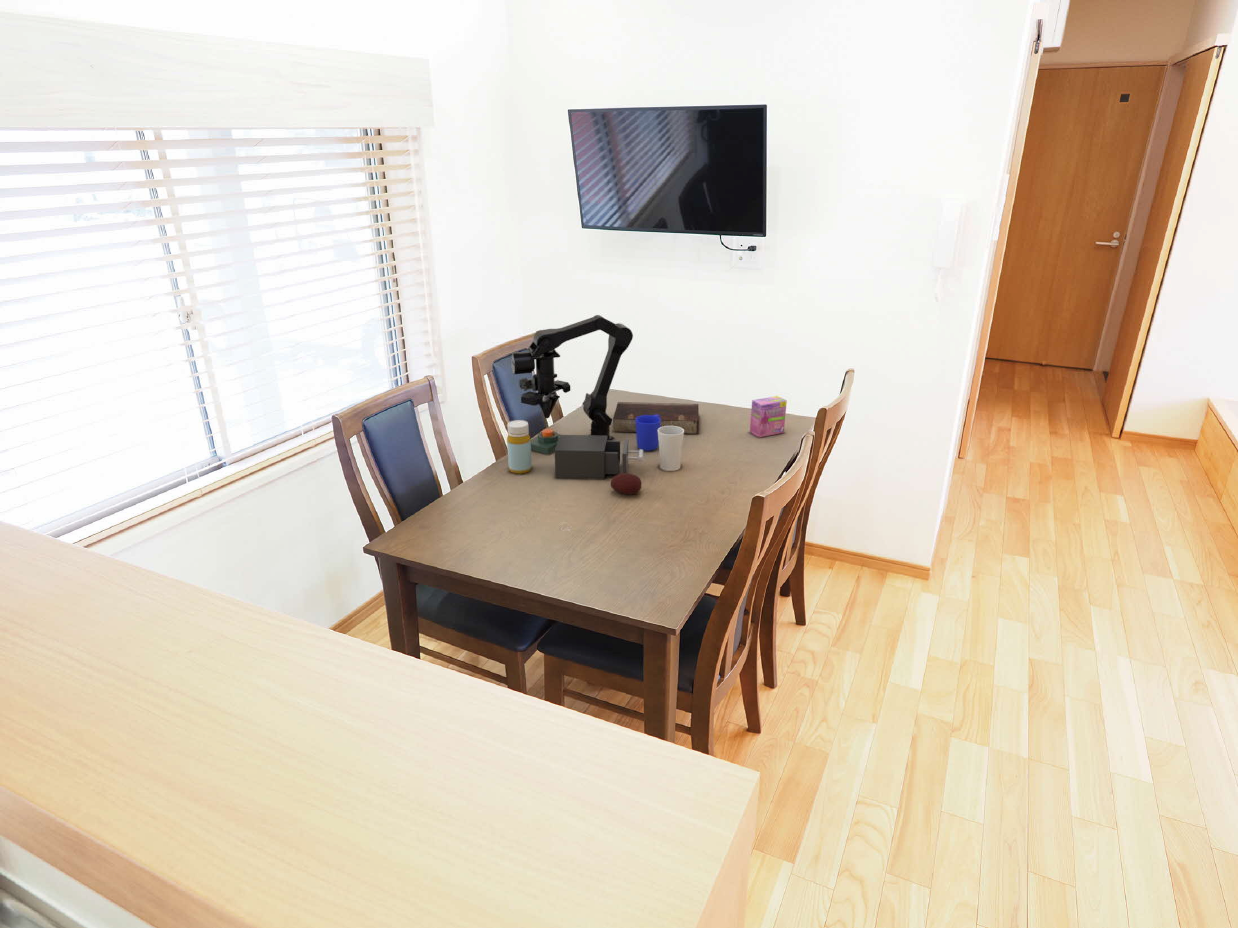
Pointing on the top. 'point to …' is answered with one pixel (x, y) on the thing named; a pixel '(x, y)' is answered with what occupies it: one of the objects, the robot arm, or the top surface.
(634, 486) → the potato
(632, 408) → the book
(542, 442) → the control block
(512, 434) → the bottle
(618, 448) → the drawer
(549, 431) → the button
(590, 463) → the dark grey lidded case
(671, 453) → the cup
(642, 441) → the mug
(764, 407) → the box
